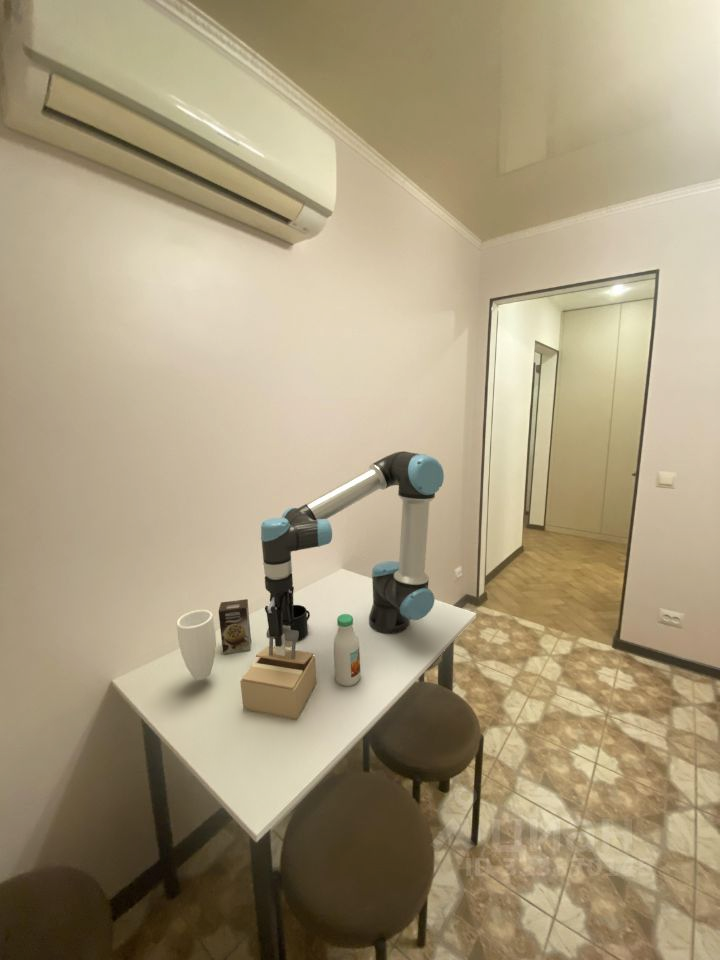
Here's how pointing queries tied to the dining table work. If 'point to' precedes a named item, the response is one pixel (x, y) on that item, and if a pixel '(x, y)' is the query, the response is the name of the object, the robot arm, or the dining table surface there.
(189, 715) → the dining table surface
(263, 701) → the carton
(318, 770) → the dining table surface
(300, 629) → the mug
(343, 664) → the milk bottle
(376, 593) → the robot arm
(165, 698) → the dining table surface
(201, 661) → the cup
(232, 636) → the coffee box
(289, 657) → the flap near
